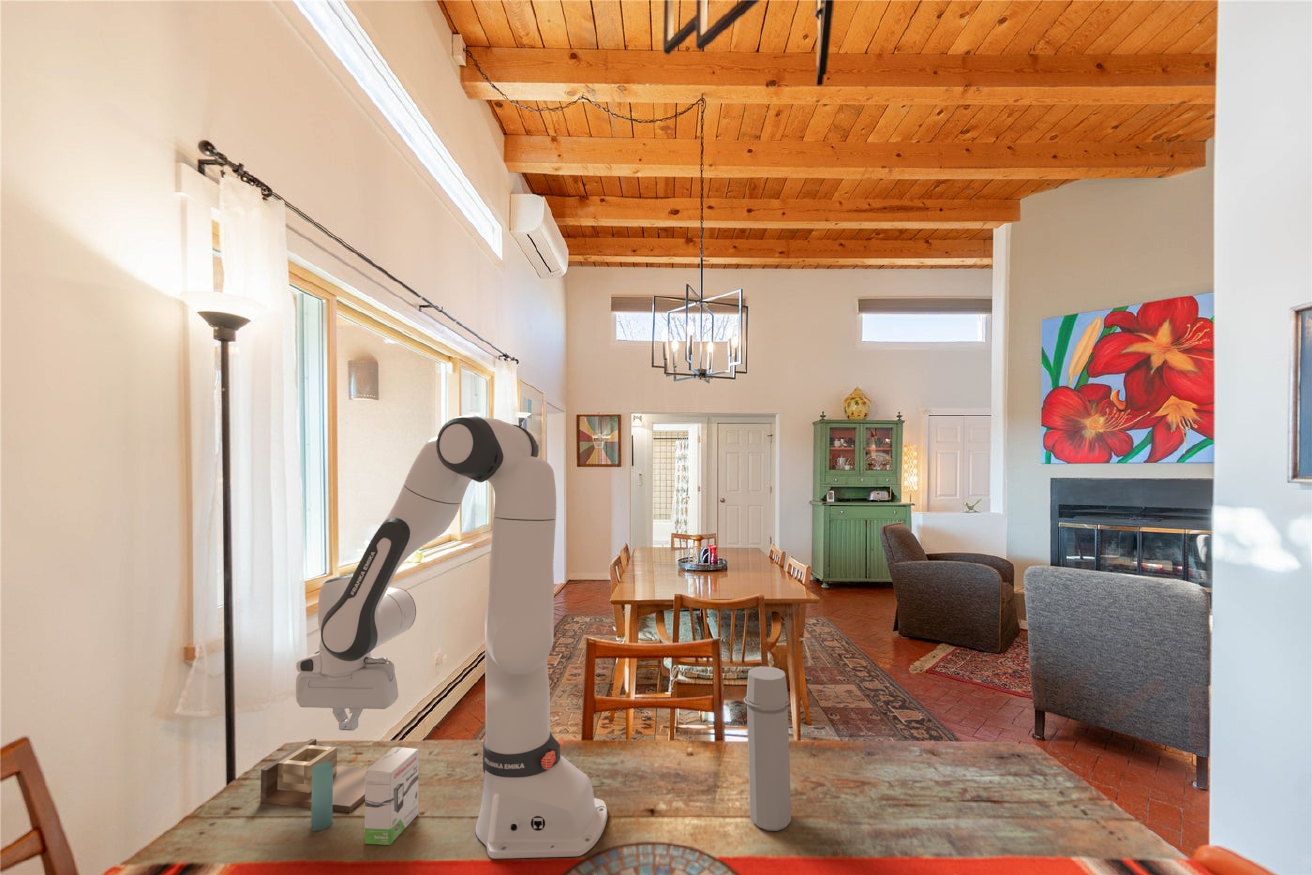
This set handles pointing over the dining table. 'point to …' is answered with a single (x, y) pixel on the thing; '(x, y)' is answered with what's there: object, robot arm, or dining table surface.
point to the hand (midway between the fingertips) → (348, 729)
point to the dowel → (322, 796)
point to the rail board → (344, 791)
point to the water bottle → (768, 748)
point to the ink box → (391, 795)
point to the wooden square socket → (303, 767)
